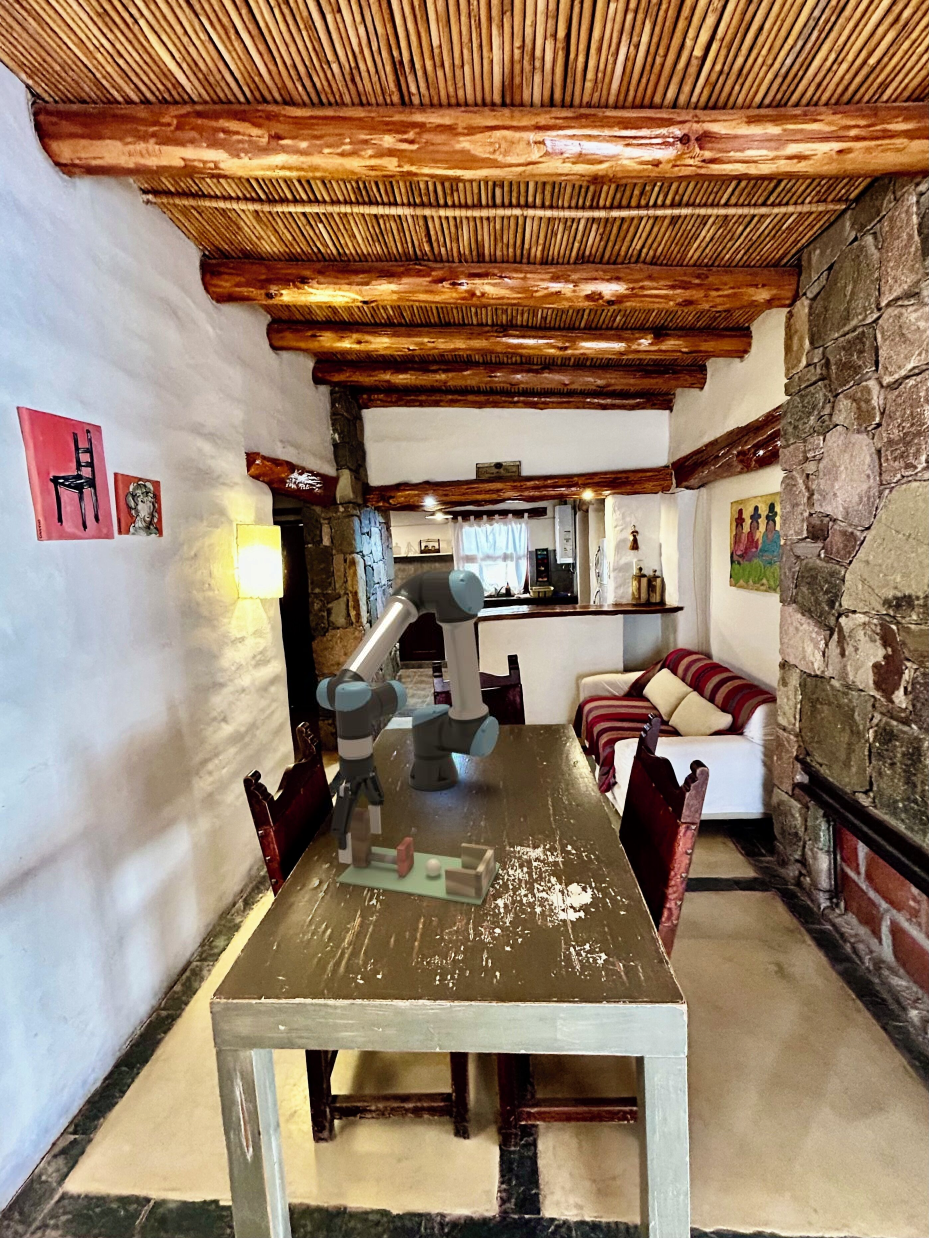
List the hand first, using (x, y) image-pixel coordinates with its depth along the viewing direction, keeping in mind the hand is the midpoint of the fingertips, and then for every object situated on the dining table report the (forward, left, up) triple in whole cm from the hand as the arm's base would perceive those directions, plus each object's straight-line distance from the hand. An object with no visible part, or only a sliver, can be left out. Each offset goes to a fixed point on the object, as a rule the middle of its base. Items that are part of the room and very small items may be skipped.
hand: (361, 846), depth 130 cm
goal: (0, +26, -5) cm, 26 cm away
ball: (0, +17, -3) cm, 17 cm away
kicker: (0, +5, -4) cm, 6 cm away
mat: (-1, +14, -5) cm, 14 cm away
